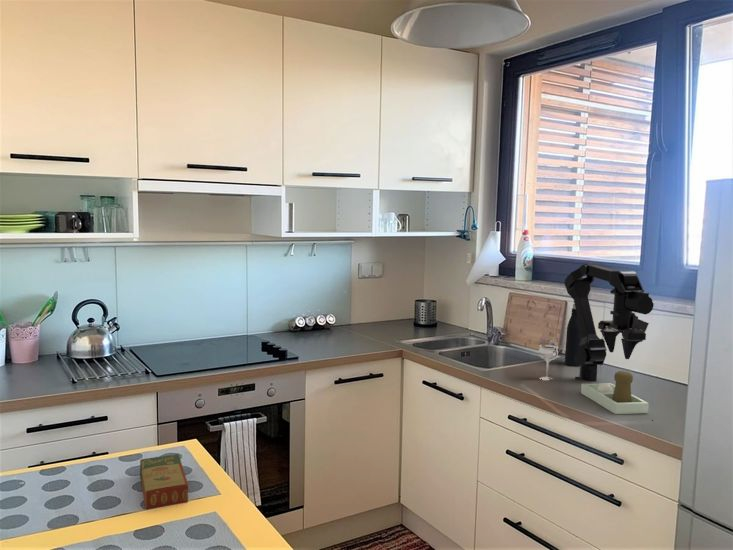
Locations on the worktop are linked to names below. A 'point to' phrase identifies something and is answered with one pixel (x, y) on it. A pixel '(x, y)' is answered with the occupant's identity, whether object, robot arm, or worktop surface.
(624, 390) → the cork
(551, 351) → the wineglass
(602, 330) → the robot arm
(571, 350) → the wine bottle
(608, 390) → the egg
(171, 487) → the carton
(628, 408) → the green divided tray
